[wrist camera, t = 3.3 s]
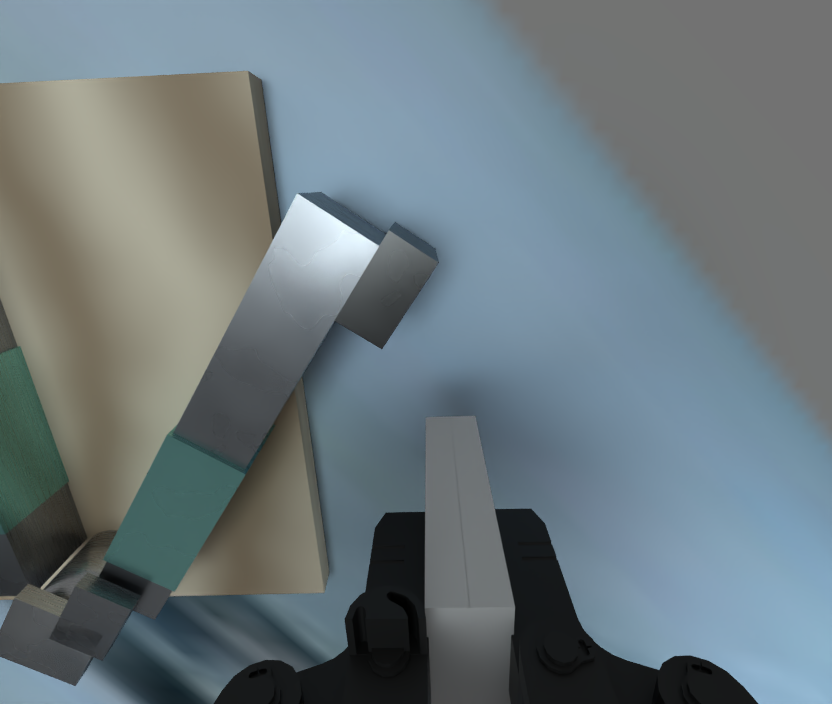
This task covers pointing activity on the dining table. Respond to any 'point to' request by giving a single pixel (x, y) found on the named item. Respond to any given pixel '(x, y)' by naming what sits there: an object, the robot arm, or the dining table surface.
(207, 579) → the board
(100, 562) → the teal-banded grey bar
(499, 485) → the dining table surface
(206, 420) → the tongs arm
